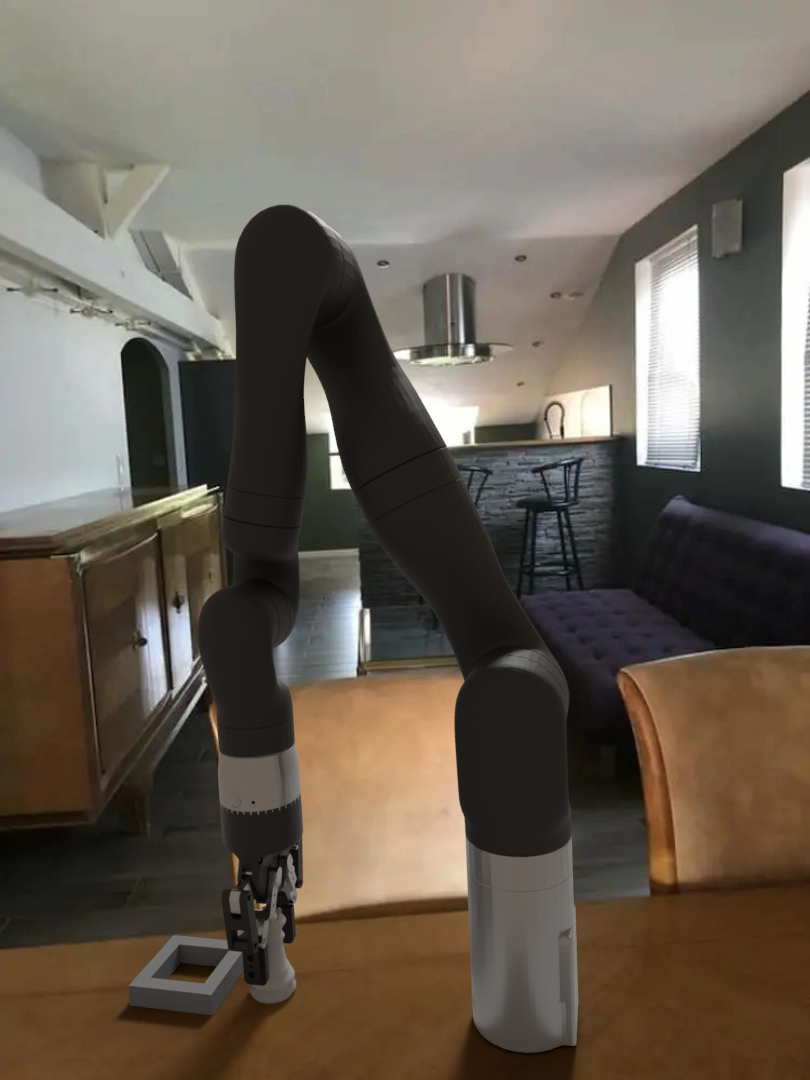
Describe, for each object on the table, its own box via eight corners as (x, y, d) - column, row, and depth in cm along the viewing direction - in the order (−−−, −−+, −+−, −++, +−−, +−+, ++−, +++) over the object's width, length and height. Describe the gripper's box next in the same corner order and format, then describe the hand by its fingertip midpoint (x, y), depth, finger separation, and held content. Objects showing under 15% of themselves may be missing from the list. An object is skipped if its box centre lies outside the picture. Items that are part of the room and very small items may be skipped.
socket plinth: (250, 960, 85) (249, 942, 85) (212, 1015, 77) (211, 994, 77) (175, 953, 87) (173, 935, 87) (130, 1005, 79) (128, 985, 79)
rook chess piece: (240, 999, 79) (234, 918, 78) (269, 972, 83) (263, 896, 82) (278, 1011, 77) (273, 929, 76) (306, 984, 81) (301, 905, 80)
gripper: (267, 827, 70) (280, 1014, 72) (323, 765, 84) (332, 923, 86) (186, 822, 72) (200, 1005, 74) (254, 762, 86) (264, 917, 88)
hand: (271, 960), depth 80 cm, fingers open, 6 cm apart
